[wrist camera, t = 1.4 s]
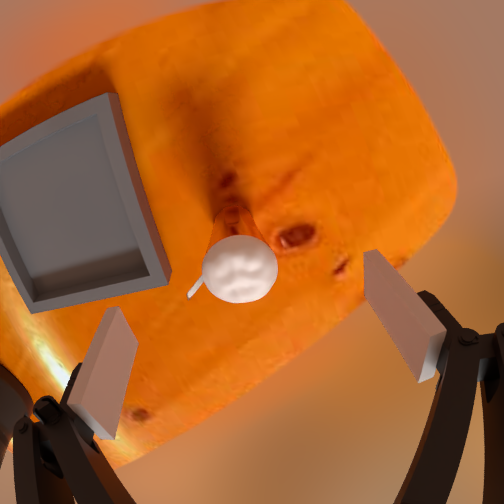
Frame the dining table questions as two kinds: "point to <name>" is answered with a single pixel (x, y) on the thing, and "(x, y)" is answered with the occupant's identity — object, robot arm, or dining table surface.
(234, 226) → the milkshake
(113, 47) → the dining table surface
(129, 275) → the slate tray
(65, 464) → the robot arm
